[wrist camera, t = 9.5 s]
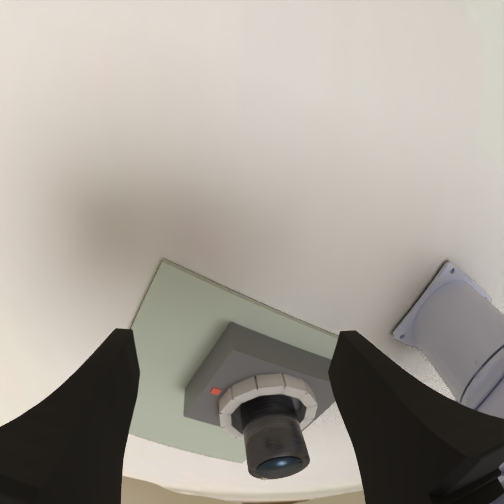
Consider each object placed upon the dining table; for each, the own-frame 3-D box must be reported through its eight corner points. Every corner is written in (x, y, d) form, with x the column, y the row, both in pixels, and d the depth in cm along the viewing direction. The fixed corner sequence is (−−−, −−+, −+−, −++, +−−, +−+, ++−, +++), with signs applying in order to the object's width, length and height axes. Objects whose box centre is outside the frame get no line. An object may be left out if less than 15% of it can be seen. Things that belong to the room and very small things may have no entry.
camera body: (337, 361, 25) (353, 398, 21) (284, 416, 27) (292, 452, 24) (230, 321, 22) (234, 362, 18) (184, 388, 25) (182, 428, 21)
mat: (359, 344, 25) (361, 348, 25) (241, 459, 31) (241, 463, 31) (163, 258, 20) (162, 261, 20) (94, 416, 26) (93, 420, 26)
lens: (303, 397, 22) (322, 457, 17) (273, 426, 23) (286, 483, 18) (258, 384, 21) (272, 450, 16) (230, 415, 22) (237, 477, 17)
